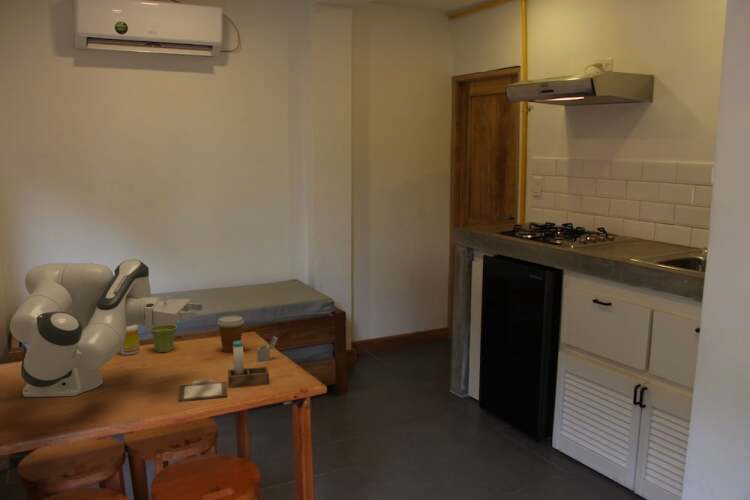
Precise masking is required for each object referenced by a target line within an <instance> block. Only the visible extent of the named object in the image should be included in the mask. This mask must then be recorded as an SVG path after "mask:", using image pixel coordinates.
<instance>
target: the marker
mask: <svg viewBox="0 0 750 500" xmlns="http://www.w3.org/2000/svg"><path fill="white" fill-rule="evenodd" d="M232 353H233V354H232V356H233V369H234V376H235V375H244V342H243V340H241V341H234V342H233V352H232Z"/></svg>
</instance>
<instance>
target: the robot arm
mask: <svg viewBox="0 0 750 500" xmlns="http://www.w3.org/2000/svg"><path fill="white" fill-rule="evenodd" d="M149 272H150V269H149V267H148V265H147V264H146V263H144V262H143V261H141V260H138V259H127V260H124V261H121V263H120V264H119V265H117V267H116V268H115V269H114V272H113V271H112V270H111V269H110V267H109V266H107V265H103V264H100V263H93V262H87V263H85V262H79V263H78V262H76V263H74V262H69V263H68V262H67V263H63V262H62V263H59V262H58V263H52V262H51V263H45V264H40V265H34V266H32V267H30V269H29V270H28V271H27V272H26V275H25V278H24V286H25V289H26V291H27V293H28V294H29V295H28V297H27V298H26V299H25V300H24V301H23V302H22V303H21V304H20V306H18V307H17V310H16V311H15V313H14V314H13V316H12V318H11V321H10V322H9V330H10V333H11V335H12V337H13V338H14V339H16V340H17V341H18V342H21V343H22V344H26V345H28V347H27V349H26V351H25V356H24V359H23V360H22V362H21V367H20V368H21V369H20V376H21V378H22V379H23V381H24V382H25V383H26V385H24V387H23V388H22V396H23V397H24V398H40V397H41V398H45V397H47V398H48V397H49V398H50V397H75V396H78V395H80V394H82V393H85V392H88V391H92V390H93V389H96V388H98V387H99V386H101V385H102V384H103V382H104V380H103V377H102V375H101V372H100V368H101V367H103V366H104V365H105V364H107V363H108V362H109V361H110V360H112V358H113V357H114V356H115V355H116V354H117V353H118V352H119V351H120V347H121V346H122V344H123V343H124V340H125V337H126V333H127V326H133V325H137V326H142V327H145V328H146V329H150V328H153V327H155V326H167V325H176V324H177V325H178V323H179V322H181V320H186V319H192V318H193V319H194V318H196V317H197V315H198V314H197V313H198V312H197V311H202V310H203V309H204V305H203V304H202V303H193V302H192V301H191V299H190V298H177V299H175V298H174V299H167V300H166V301H165V300H163V299H162V298H161V297H160V296H156V297H155V296H153V297H152V292H151V285H150V278H149V277H150V275H149V274H150V273H149Z"/></svg>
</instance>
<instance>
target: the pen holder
mask: <svg viewBox="0 0 750 500" xmlns="http://www.w3.org/2000/svg"><path fill="white" fill-rule="evenodd" d="M227 380H228V381H227V382H228V389H231V388H241V387H251V386H264V385H269V384H270V372H269V370H268V367H267V366H260V367H259V366H258V367H257V366H256V367H248V368H246V367H245V368H244V375H235V376H234V368H232V369H227Z"/></svg>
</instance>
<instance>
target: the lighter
mask: <svg viewBox="0 0 750 500" xmlns="http://www.w3.org/2000/svg"><path fill="white" fill-rule="evenodd" d="M278 340H279V338H278V337H276V336H272V338H271V340H270V343H269V346H267V345H266V344H265V345H260V346H259V347H258V348H257V349H256V350H257V351H256V352H257V353H256V355H257V362H265V361H270V360H271V356H270V355H271V350H274V348H275V347H276V344H277V341H278Z"/></svg>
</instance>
